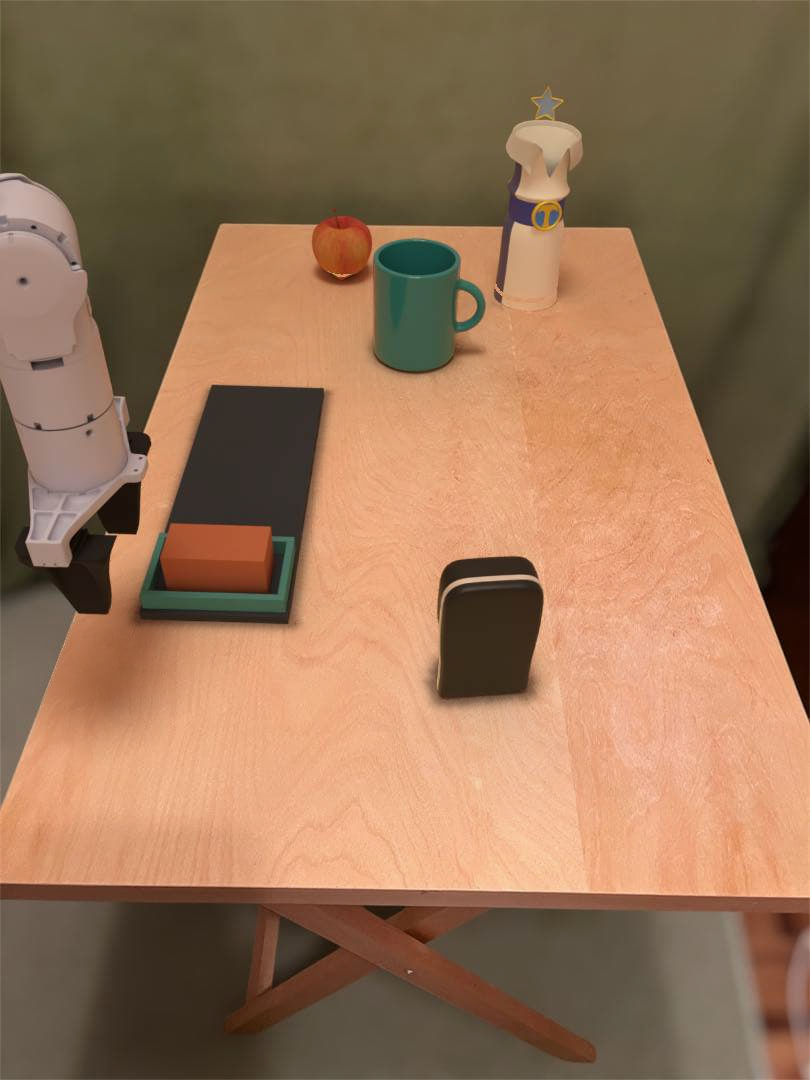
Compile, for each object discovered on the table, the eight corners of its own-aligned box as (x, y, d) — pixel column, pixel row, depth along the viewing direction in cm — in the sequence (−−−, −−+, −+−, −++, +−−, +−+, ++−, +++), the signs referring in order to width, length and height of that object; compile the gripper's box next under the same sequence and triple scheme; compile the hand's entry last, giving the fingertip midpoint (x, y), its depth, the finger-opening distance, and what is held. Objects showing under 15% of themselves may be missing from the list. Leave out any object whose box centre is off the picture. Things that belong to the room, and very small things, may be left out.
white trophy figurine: (572, 309, 109) (609, 85, 92) (504, 315, 108) (528, 89, 91) (549, 277, 115) (579, 61, 98) (484, 283, 114) (503, 65, 97)
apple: (337, 294, 111) (335, 231, 105) (301, 272, 115) (298, 210, 109) (384, 277, 114) (384, 214, 109) (347, 256, 118) (346, 195, 113)
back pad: (288, 623, 71) (286, 603, 70) (140, 619, 71) (135, 599, 70) (324, 394, 95) (323, 375, 93) (212, 390, 95) (209, 371, 93)
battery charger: (520, 653, 70) (538, 544, 62) (530, 693, 67) (550, 584, 59) (429, 659, 69) (436, 550, 61) (436, 700, 66) (444, 591, 59)
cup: (480, 378, 98) (489, 281, 90) (369, 372, 98) (368, 274, 91) (481, 335, 104) (490, 241, 97) (377, 329, 105) (377, 235, 97)
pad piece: (268, 597, 72) (264, 561, 70) (167, 594, 72) (159, 557, 70) (274, 562, 75) (271, 526, 73) (178, 559, 75) (170, 523, 73)
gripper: (98, 483, 48) (143, 652, 57) (159, 339, 58) (188, 501, 68) (-37, 479, 48) (30, 648, 57) (48, 336, 58) (93, 498, 68)
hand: (109, 568), depth 62 cm, fingers open, 7 cm apart
